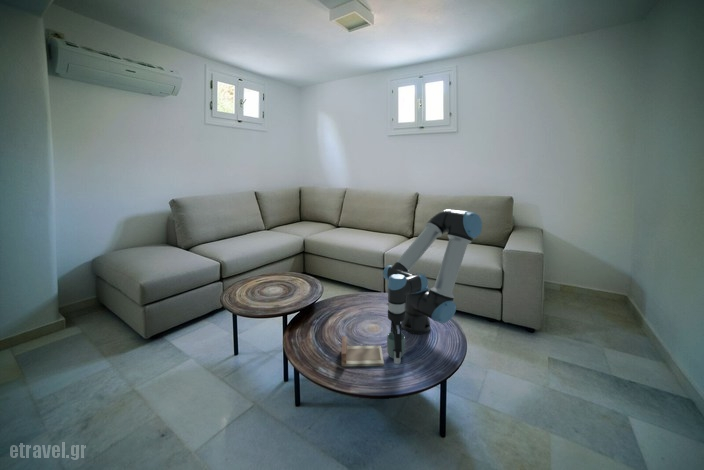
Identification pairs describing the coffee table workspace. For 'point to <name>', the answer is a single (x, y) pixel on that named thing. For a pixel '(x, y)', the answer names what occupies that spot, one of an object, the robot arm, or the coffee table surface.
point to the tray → (361, 355)
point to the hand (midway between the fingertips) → (395, 355)
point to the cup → (392, 345)
